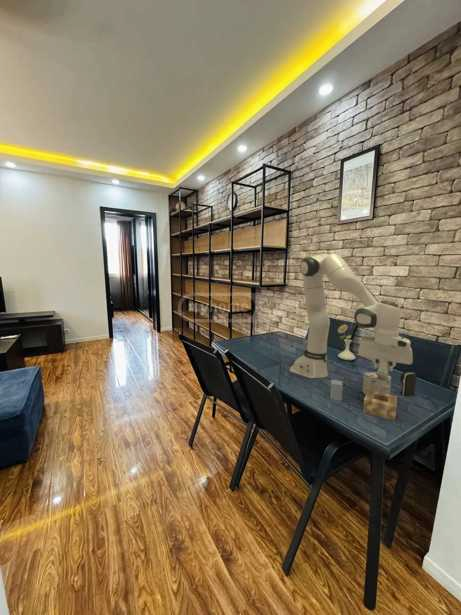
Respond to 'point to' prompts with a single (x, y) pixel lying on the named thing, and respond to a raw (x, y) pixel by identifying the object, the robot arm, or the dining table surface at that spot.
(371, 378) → the light bulb box
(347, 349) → the flower in vase
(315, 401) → the dining table surface
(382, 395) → the socket block
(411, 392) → the battery charger
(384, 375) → the steel peg
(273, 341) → the dining table surface
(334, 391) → the square bit
